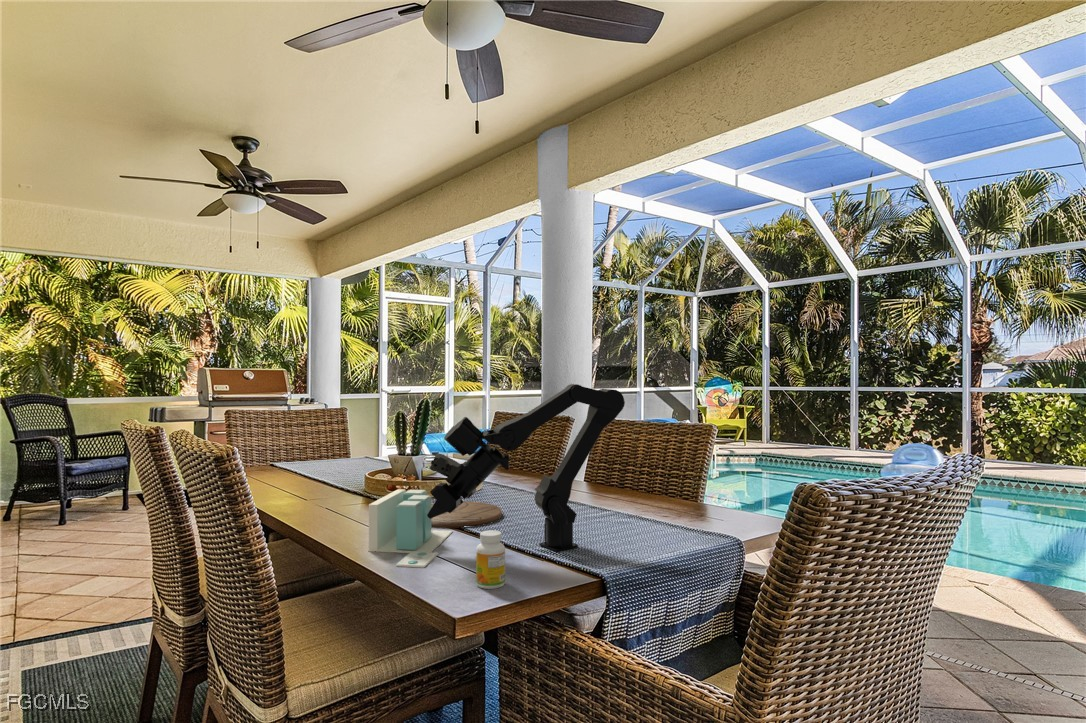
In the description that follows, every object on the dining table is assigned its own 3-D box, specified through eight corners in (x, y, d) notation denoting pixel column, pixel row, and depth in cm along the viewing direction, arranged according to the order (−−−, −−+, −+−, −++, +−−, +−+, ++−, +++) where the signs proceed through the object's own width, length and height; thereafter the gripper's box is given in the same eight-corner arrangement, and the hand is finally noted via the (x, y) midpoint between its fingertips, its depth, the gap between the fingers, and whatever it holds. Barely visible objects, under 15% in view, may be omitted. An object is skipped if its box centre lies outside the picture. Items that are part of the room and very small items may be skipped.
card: (437, 554, 139) (437, 552, 139) (424, 567, 130) (424, 564, 130) (411, 553, 140) (411, 551, 140) (396, 566, 131) (396, 563, 131)
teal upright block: (431, 536, 152) (431, 495, 152) (425, 541, 147) (425, 499, 147) (413, 536, 152) (413, 494, 152) (406, 541, 148) (406, 498, 148)
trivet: (518, 513, 180) (518, 506, 180) (467, 534, 158) (467, 526, 158) (445, 504, 192) (445, 498, 192) (389, 522, 170) (389, 515, 170)
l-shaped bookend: (452, 532, 158) (452, 490, 158) (429, 553, 140) (429, 506, 140) (398, 530, 160) (398, 489, 160) (368, 551, 142) (368, 504, 142)
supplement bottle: (473, 581, 122) (473, 530, 122) (500, 578, 124) (500, 528, 124) (480, 591, 117) (480, 537, 117) (508, 587, 119) (508, 535, 119)
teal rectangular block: (426, 529, 159) (426, 489, 159) (421, 534, 154) (421, 493, 154) (409, 528, 159) (409, 489, 159) (403, 533, 155) (403, 492, 155)
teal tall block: (422, 544, 145) (422, 501, 145) (416, 549, 141) (416, 505, 141) (403, 543, 146) (403, 500, 146) (396, 549, 141) (396, 504, 142)
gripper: (463, 437, 151) (417, 483, 153) (440, 447, 133) (389, 498, 134) (495, 472, 150) (449, 517, 152) (477, 486, 132) (424, 538, 133)
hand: (428, 516), depth 143 cm, fingers closed
